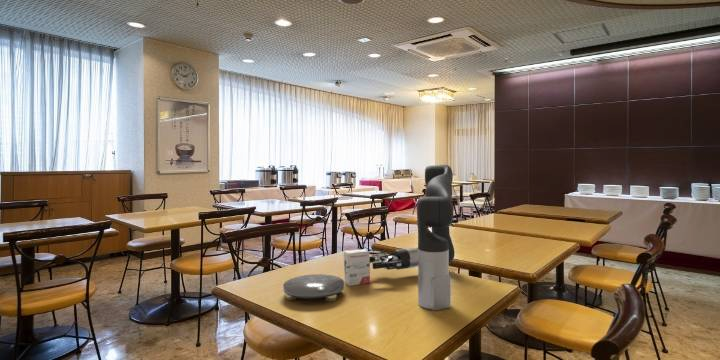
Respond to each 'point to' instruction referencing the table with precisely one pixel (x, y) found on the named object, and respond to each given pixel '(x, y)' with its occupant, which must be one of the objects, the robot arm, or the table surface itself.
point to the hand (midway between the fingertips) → (368, 263)
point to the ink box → (356, 267)
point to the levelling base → (313, 287)
